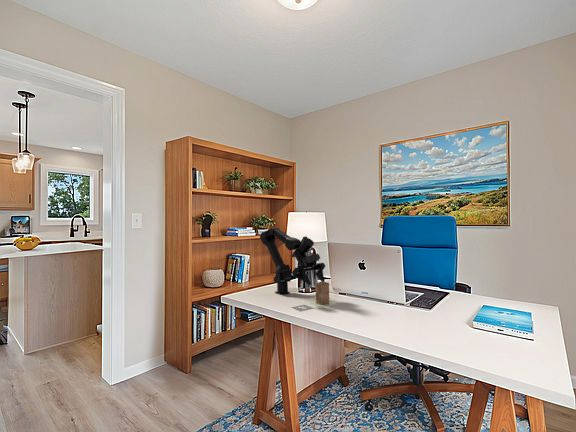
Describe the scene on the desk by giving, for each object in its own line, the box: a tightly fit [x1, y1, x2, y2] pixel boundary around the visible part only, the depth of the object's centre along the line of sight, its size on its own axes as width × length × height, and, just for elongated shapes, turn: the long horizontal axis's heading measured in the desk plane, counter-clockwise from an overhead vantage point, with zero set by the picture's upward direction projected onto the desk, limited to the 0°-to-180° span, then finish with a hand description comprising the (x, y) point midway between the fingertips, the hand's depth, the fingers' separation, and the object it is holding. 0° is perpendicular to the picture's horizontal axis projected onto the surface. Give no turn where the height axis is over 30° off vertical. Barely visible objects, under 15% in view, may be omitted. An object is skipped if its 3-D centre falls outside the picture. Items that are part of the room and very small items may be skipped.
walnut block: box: [315, 281, 330, 305], centre depth 151 cm, size 5×5×10 cm
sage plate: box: [308, 300, 337, 309], centre depth 151 cm, size 10×10×1 cm
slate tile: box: [290, 304, 315, 312], centre depth 145 cm, size 8×8×1 cm
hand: (317, 283), depth 154 cm, fingers open, 9 cm apart
